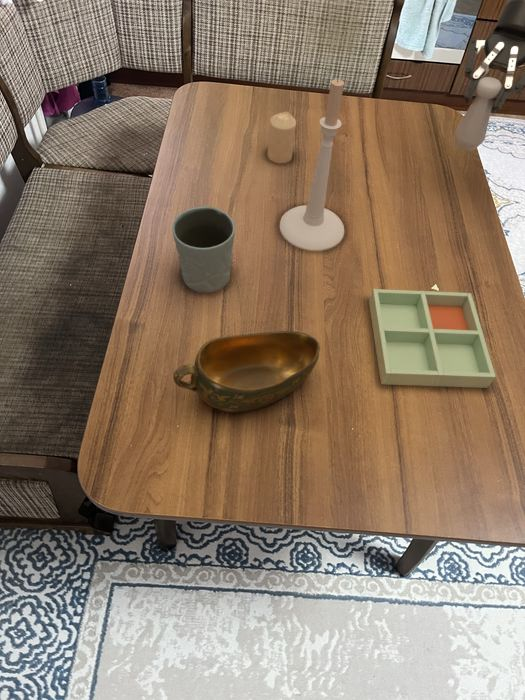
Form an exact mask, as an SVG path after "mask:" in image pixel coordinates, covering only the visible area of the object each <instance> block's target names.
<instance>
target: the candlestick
mask: <svg viewBox="0 0 525 700" xmlns="http://www.w3.org/2000/svg"><path fill="white" fill-rule="evenodd" d="M344 87H345V82H344V80H342V79H341V78H340V79H339V78H334V79H332V80H331V82H330V87H329V93H328V99H327V105H326V110H325V116H323V117H321V118H320V119H319V124H320V126H322V127H321V129H320V132H321V134H322V140H321V141H320V147H319V150H318V155H317V160H316V164H315V168H314V172H313V177H312V182H311V186H310V190H309V195H308V200H307V204H305V205H303V204H302V205H298V206H295V207H292V208H290V209H289V210H287V211H286V212H285V213H284V214H283V215H282V216H281V218H280V220H279V232H280V234H281V235H282V237H283V238H284V240H285V241H286V242H288V243H289V244H290V245H291V246H293V247H295V248H298V249H300V250H304V251H308V252H309V251H310V252H322V251H327V250H330V249H333V248H335V247H336V246H337V245H338V244H340V243H341V241H342V240H343V238H344V235H345V226H344V223H343V221H342V220H341V218H340V217H339V216H338V215H337V214H336V213H335V212H333V211H331V210H330V209H328V208H325V207H326V199H327V198H326V197H327V191H328V184H329V175H330V167H331V161H332V151H333V147H334V142H333V140H334V137H335V136H337V134H338V129H340V128H341V126H342V121H341V120H340V119H339V113H340V108H341V103H342V97H343V93H344Z"/></svg>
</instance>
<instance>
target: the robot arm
mask: <svg viewBox="0 0 525 700" xmlns="http://www.w3.org/2000/svg"><path fill="white" fill-rule="evenodd" d="M482 49H484V54H485V58H484V60H483V61H482V62H481V64H480V65H479V66H478V67H477V69H474V68H473V67H474V62H475V55H478V54H480V52H481V50H482ZM465 61H466V62H465V68H464V78H465V77H466V78H468V79H469V80H470V81H469V83H468V84H467V87H466V89H465V91H464V93H463V94H464V95H463V100H464V103H465V104H466V105H470V104H471V101H472V99H473V96H474V95H475V93H476V86H477V84H478V82H479V80H481V79H482V78H484V77H485V76H486V75H487V74H488V72H490V70H496V71H497V70H498V71H500V72H501V73H504V74H505V76H504V82H503V83H504V84H503V87H501V91H500V93H499V95H498V96H497V97H496V98H495V100H494V102H493V104H492V109H491V113H493V114H495V113H496V112H497V111H498V112H499V111H500V110H501V109H502V107H503V106H504V104H505V102H506V101H507V100H506V99H507V97H508V96H509V94H512V93H514V94H516V95H517V94H520V93H521V92H522V91H524V89H525V73H524V74H523V76H521V78H520V79H519V80H518V81H516V82H514V77H515V71H516V69H517V68H519V67H521V66H522V65H524V64H525V0H506V2H505V5H504V7H503V9H502V12H501V14H500V16H499V18H498V20H497V21H496V23H495V26H494V29H493V30H492V33H490V35H489V36H487V38H485V39H477V38H476V37H471V38H470V39H469V43H468V50H467V56H466V60H465Z"/></svg>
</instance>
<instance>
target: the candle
mask: <svg viewBox="0 0 525 700" xmlns="http://www.w3.org/2000/svg"><path fill="white" fill-rule="evenodd" d="M268 128H269V130H268V142H267V158H268V160H270V161H271V162H273V163H275V164H286V163H289V162H290V161H291V160H292V159H293V152H294V145H295V137H296V128H297V120H296V118H294V116H293V115H292V114H291V113H290V112H289V111H282V112H279V113H276V114H274V115H272V116H271V117H270V119H269V127H268Z"/></svg>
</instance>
